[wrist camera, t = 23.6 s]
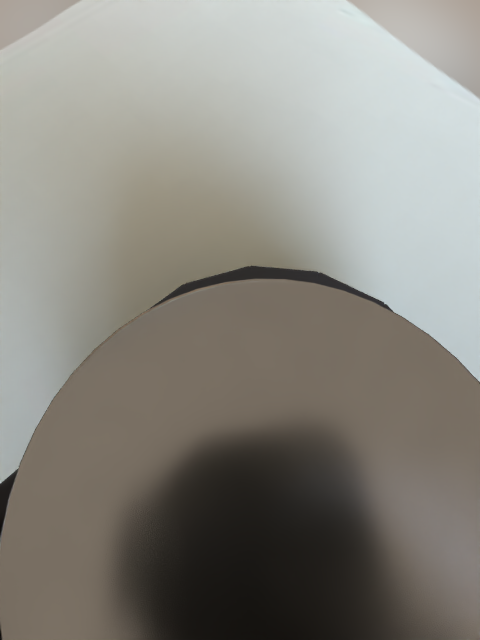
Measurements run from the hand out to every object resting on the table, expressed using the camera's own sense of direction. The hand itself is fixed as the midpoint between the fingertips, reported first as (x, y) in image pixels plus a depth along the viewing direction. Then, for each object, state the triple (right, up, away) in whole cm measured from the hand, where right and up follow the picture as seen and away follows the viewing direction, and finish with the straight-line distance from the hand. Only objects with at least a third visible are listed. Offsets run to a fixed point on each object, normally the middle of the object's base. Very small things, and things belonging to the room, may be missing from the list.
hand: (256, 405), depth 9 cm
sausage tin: (+1, -4, +6) cm, 7 cm away
